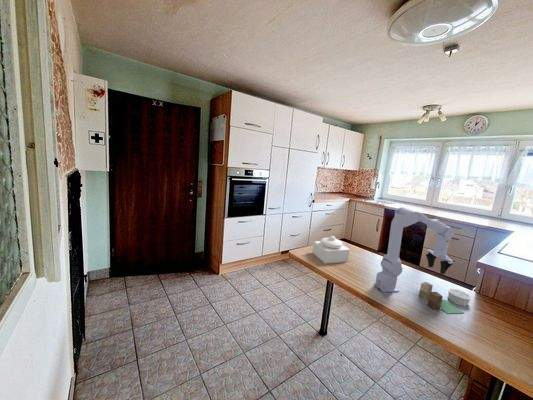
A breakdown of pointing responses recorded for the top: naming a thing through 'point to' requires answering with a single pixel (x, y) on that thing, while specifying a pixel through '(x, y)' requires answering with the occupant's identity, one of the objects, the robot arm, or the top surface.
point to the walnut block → (434, 300)
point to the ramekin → (459, 297)
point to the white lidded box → (330, 250)
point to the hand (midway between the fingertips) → (436, 270)
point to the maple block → (425, 290)
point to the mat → (449, 308)
